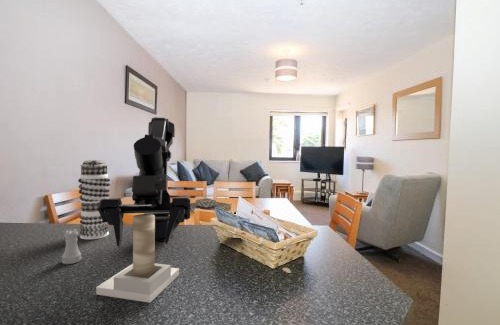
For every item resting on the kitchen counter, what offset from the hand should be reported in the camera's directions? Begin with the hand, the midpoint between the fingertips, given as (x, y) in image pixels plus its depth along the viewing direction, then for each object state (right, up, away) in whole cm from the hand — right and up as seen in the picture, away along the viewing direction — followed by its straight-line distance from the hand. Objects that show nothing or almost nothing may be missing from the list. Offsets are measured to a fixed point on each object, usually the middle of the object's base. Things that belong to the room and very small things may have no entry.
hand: (142, 245), depth 55 cm
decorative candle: (-30, -8, +36) cm, 47 cm away
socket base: (-2, -10, +4) cm, 11 cm away
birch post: (0, -8, +2) cm, 9 cm away
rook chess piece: (-24, -9, +15) cm, 30 cm away
